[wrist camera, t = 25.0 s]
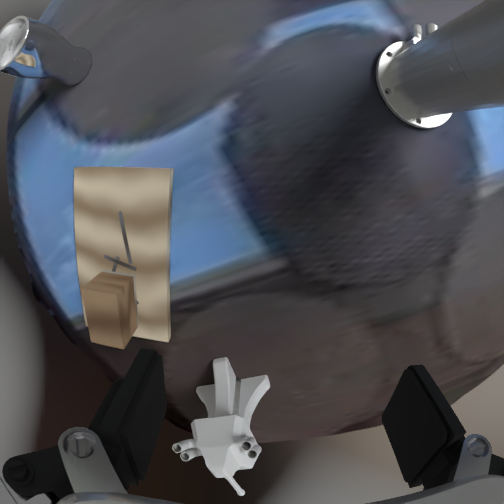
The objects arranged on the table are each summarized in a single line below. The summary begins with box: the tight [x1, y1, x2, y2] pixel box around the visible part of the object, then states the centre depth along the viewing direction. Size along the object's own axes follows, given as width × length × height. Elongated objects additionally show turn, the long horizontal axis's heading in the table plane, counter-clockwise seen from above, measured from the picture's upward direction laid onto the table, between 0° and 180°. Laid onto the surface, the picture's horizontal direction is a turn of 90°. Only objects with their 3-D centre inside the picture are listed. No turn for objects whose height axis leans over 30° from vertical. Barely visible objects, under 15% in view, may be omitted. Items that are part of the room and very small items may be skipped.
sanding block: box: [82, 270, 139, 349], centre depth 36 cm, size 8×5×6 cm, turn 174°
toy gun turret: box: [173, 357, 270, 496], centre depth 37 cm, size 12×13×18 cm
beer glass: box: [0, 16, 92, 86], centre depth 23 cm, size 7×7×15 cm
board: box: [74, 167, 174, 342], centre depth 38 cm, size 24×14×2 cm, turn 174°
